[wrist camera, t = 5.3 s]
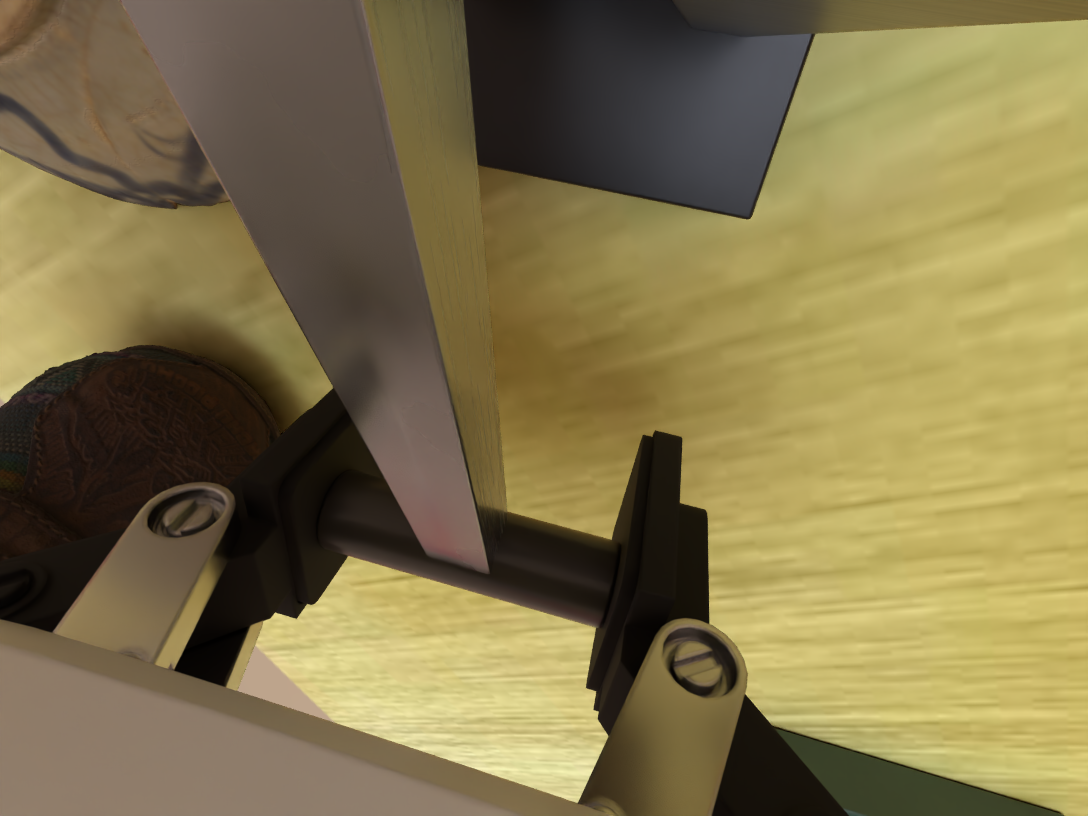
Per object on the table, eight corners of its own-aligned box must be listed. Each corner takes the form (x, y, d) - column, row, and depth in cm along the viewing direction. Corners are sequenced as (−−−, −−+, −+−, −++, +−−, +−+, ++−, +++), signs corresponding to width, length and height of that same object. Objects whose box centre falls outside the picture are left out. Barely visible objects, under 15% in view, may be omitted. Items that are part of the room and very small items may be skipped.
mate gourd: (235, 518, 22) (-42, 804, 14) (74, 362, 19) (-394, 604, 11) (361, 463, 18) (96, 797, 10) (188, 265, 16) (-359, 509, 8)
